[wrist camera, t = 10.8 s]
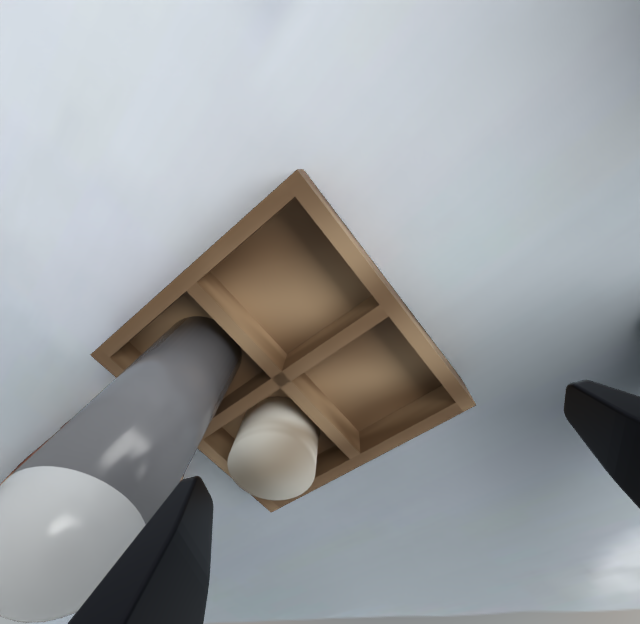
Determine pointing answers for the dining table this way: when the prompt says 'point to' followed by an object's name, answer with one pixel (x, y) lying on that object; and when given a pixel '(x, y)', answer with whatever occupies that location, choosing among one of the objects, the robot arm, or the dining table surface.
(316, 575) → the dining table surface
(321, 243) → the caddy
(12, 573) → the grey rounded cylinder
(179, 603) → the robot arm
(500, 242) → the dining table surface
